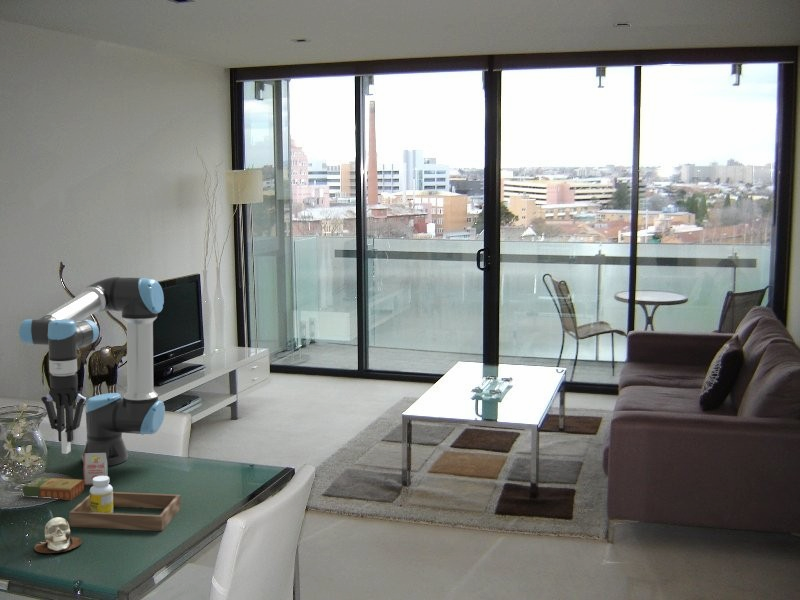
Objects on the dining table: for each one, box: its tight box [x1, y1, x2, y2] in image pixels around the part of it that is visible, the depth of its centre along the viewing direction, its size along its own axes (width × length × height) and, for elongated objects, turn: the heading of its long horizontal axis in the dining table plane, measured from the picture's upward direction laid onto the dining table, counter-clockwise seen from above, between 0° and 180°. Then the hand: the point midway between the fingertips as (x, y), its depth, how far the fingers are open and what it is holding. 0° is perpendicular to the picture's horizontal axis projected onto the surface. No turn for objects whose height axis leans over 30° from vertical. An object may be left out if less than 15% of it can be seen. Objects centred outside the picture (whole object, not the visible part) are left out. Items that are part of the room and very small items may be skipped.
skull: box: [33, 516, 83, 554], centre depth 235 cm, size 12×10×10 cm
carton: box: [22, 476, 85, 501], centre depth 273 cm, size 8×16×4 cm, turn 83°
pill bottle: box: [89, 476, 114, 513], centre depth 256 cm, size 6×6×12 cm
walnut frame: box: [68, 491, 182, 532], centre depth 256 cm, size 17×27×4 cm, turn 86°
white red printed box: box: [82, 453, 109, 486], centre depth 283 cm, size 4×7×10 cm, turn 98°
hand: (66, 452), depth 254 cm, fingers closed
